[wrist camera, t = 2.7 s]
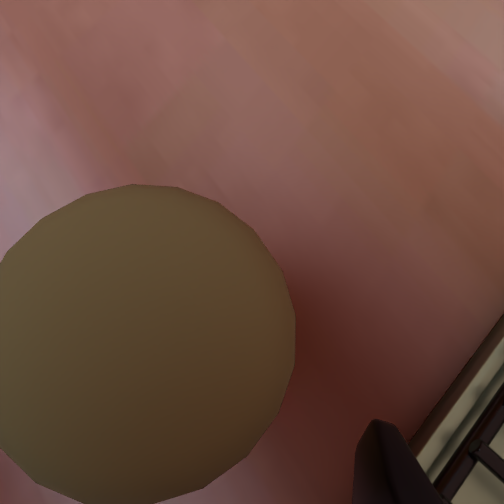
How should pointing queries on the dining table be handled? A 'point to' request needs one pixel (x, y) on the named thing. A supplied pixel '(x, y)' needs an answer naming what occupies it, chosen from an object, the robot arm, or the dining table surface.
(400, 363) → the dining table surface
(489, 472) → the dish rack
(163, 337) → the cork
